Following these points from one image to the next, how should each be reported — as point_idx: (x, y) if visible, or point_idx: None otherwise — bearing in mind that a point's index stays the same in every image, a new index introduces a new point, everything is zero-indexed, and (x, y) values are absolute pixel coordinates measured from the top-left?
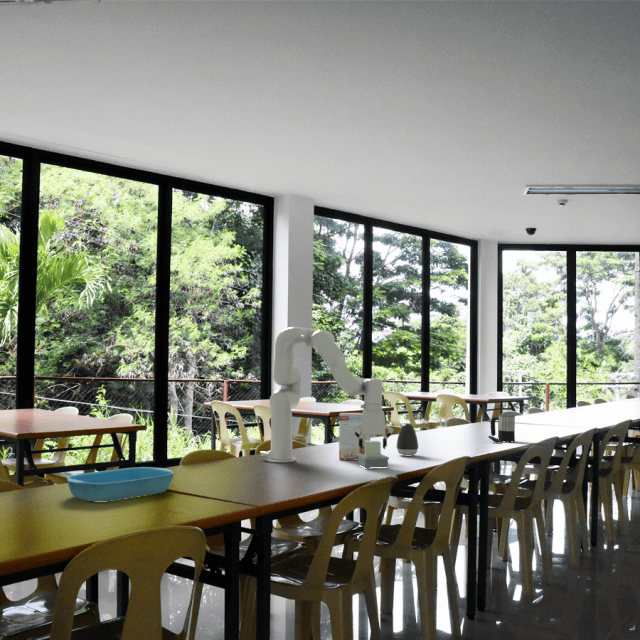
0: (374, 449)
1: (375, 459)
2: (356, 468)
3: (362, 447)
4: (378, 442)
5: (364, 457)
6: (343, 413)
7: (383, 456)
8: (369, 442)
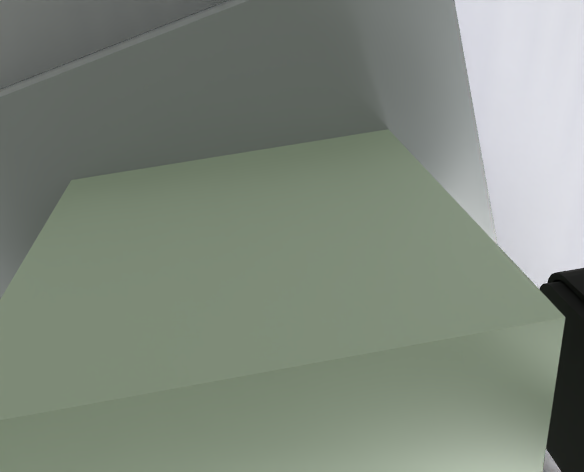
0: (208, 237)
1: (175, 26)
2: (491, 21)
3: (557, 292)
4: (22, 418)
5: (436, 20)
6: None
7: (19, 254)
8: (430, 338)
